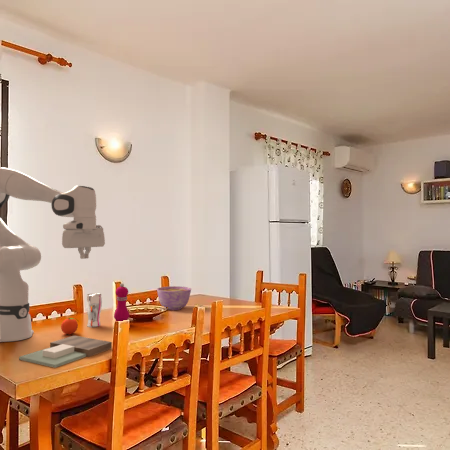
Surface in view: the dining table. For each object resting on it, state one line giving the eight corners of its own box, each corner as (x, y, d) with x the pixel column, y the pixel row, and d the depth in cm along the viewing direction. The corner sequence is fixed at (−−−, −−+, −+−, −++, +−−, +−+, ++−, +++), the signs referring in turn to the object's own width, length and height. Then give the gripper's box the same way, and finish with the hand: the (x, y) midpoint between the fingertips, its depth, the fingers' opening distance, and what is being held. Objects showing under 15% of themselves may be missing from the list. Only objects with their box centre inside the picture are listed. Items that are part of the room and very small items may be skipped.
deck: (50, 349, 160) (50, 342, 160) (74, 341, 171) (74, 335, 171) (88, 356, 151) (88, 349, 151) (111, 348, 162) (111, 342, 162)
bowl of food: (152, 306, 247) (152, 287, 247) (184, 304, 255) (184, 285, 256) (162, 313, 229) (162, 292, 229) (196, 310, 237) (196, 290, 237)
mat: (19, 359, 147) (19, 356, 147) (51, 349, 160) (51, 346, 160) (54, 367, 139) (54, 364, 139) (86, 356, 152) (86, 353, 152)
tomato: (74, 331, 188) (74, 315, 189) (83, 333, 184) (83, 317, 184) (57, 334, 182) (58, 318, 182) (66, 337, 178) (66, 320, 178)
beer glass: (103, 324, 202) (103, 293, 202) (99, 327, 195) (99, 295, 195) (88, 324, 202) (89, 293, 202) (84, 327, 195) (84, 295, 195)
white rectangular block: (42, 355, 149) (42, 350, 149) (62, 349, 157) (62, 344, 157) (54, 358, 146) (54, 352, 146) (74, 351, 154) (74, 346, 154)
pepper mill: (113, 327, 196) (114, 284, 196) (113, 323, 203) (114, 282, 203) (129, 326, 198) (130, 284, 198) (128, 322, 205) (129, 282, 205)
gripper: (97, 225, 182) (97, 256, 182) (59, 224, 164) (59, 259, 164) (108, 225, 179) (108, 257, 179) (71, 224, 161) (70, 260, 161)
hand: (84, 258), depth 172 cm, fingers closed
